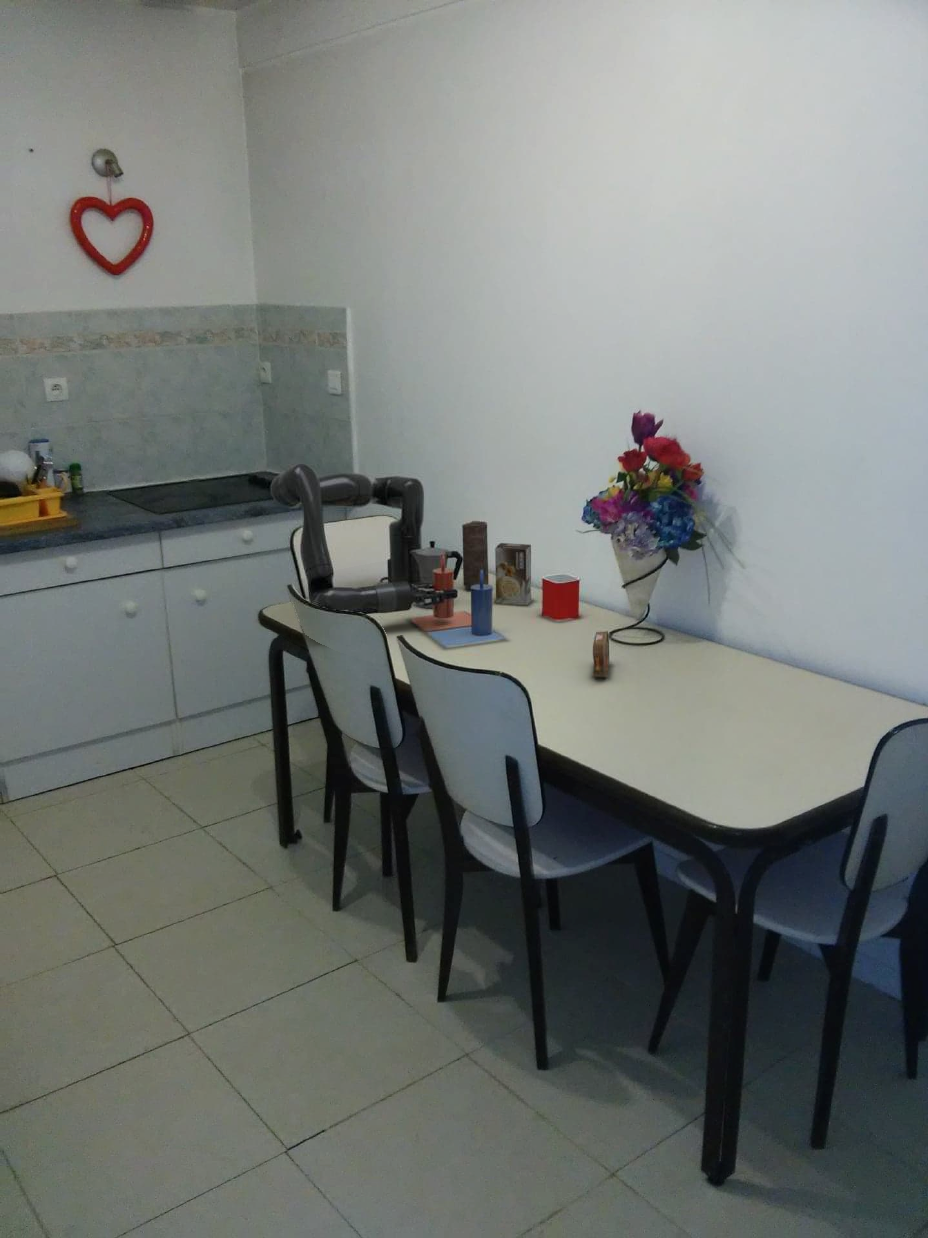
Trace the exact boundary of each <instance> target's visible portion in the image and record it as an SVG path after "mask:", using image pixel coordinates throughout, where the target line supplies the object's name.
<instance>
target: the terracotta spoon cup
mask: <svg viewBox="0 0 928 1238" xmlns="http://www.w3.org/2000/svg"><path fill="white" fill-rule="evenodd" d="M454 585H455V580H454V569H452V568H448V567H447V568H445V555H444V554H441V568H438V569H434V570H433V589H434V590H435V591H441V590H442V591H443V590H452V589H455V586H454ZM437 598H439V596H437ZM454 613H455V598H453V599H444V603H439V604H434V605H433V609H432V615H433V616H434V617H436V618H450V617H453V616H454Z"/></svg>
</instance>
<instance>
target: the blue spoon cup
mask: <svg viewBox="0 0 928 1238" xmlns="http://www.w3.org/2000/svg"><path fill="white" fill-rule="evenodd" d="M470 615H471V633H472V634H473V635H476V636H487V635H491V634H492V633H493V631H494V630H493V626H494V625H493V621H494V620H493V586H492V585H490V584H489V585H486V584H483V570H480V584H477V585H473V586H471V589H470Z"/></svg>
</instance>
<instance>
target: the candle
mask: <svg viewBox="0 0 928 1238" xmlns="http://www.w3.org/2000/svg"><path fill="white" fill-rule="evenodd" d="M461 525H462V527H461V528H462V529H461V530H462V558H463V562H462V579H463V581H462V582H463V587H465V588H467V589H470V590H471V586H473V585H477V584H480V570H483V584H486V585H490V584H489V581H490V580H489V556H488V555H489V553H488V551H489V550H488V548H489V547H488V522H486V521H481V520H472V521H470V522H467V523H464V524H463V523H462V524H461Z"/></svg>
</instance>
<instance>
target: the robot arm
mask: <svg viewBox="0 0 928 1238" xmlns="http://www.w3.org/2000/svg"><path fill="white" fill-rule="evenodd" d="M424 489H425V488H424V485H423V483H422V482H421V480H420V479H418V478H417V477H416V478H415V477H409V476H402V475H401V476H400V475H393V476H392V475H391V476H383V477H372V476H369V475H366V474H363V473H357V472H337V473H332V474H327V475H324V476H323V475H322V476H319V477H318V474H317V473H316V471H315V470H314V468H313V467H312V466H310V465H309V464H307V463H302V462H301V463H298V464H295V465H293V466H291V467H289V468H288V469H286V470H284V471H282V472H281V473H279V474H277V475H276V476H275V477H274V478H273V480H272V481H271V484H270V493H271V496H272V497H273V499H274V500H275V501H276V503H278V504H279V505H281V506H282V507H285V508H290V509H295V508H302V516H303V517H302V530H301V536H300V543H299V544H300V545H299V551H300V559H301V563H302V567H303V571H304V574H305V577H306V581H307V594H308V601H309V603H310V602H311V603H313V604H315V605H318V606H320V607H325V608H328V609H336V610H348V611H353V612H362V613H364V615H373V614H391V613H399V612H406V611H410V610H411V609H412V606H413V604H414V603H416V604H417V605H418V604H423V603H424V606H428V605H434V604H439V603H444V599H453V598H454V599H457V598H458V590H457V589H455V588H454V589H452V590H443V591H442V590H441V591H435V590H434V589H433V584H430V583H421V576H420V572H419V566H418V563H417V561H416V560H415V558H414V556H413V555H412V554H411V553H410V552H411V551H412V550H417V549H423V546H422V545H423V544H422V543H423V541H422V539H423V538H422V527H423V523H424V516H425V515H424V514H425V490H424ZM368 505H379V506H383V507H387V508H391V509H396V510H401V514H400V518H399V519H397V520H393V521H392V522H390V523H389V524H388V535H389V536H388V537H389V558H388V559H387V562H386V563H387V576H384V577H382V578H380V580H379V583H378V584H374V585H364V586H359V587H348V586H336V587H334V581H333V580H334V575H335V571H334V567H333V562H332V559H331V555H330V551H329V547H328V543H327V537H326V530H325V529H326V528H325V520H324V519H325V518H324V510H323V507H333V508H334V507H337V508H365V507H367V506H368ZM385 580H386V581H387V582H384V581H385ZM437 596H439V598H437Z"/></svg>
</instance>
